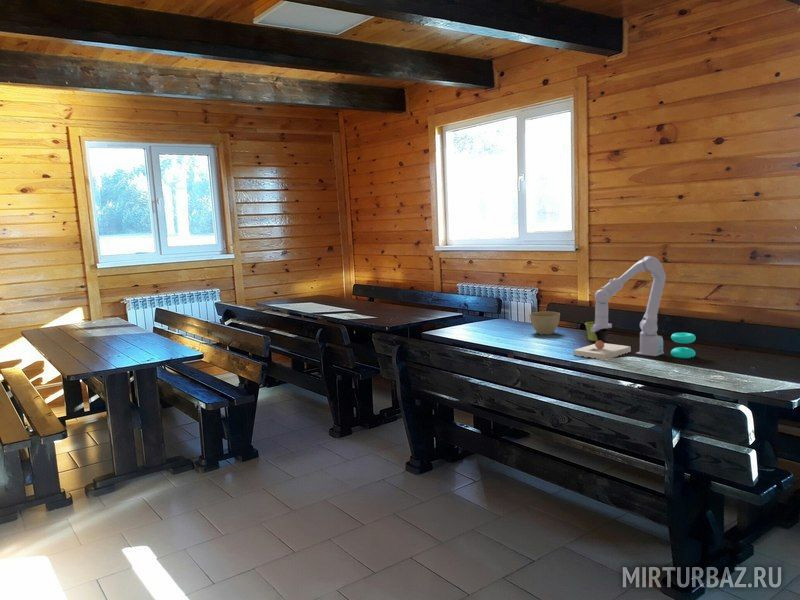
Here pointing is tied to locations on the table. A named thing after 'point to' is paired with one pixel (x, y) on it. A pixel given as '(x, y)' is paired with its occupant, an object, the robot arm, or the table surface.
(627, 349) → the deck
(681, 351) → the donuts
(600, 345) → the ball
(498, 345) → the table surface
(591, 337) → the plant pot
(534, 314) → the planter bowl
